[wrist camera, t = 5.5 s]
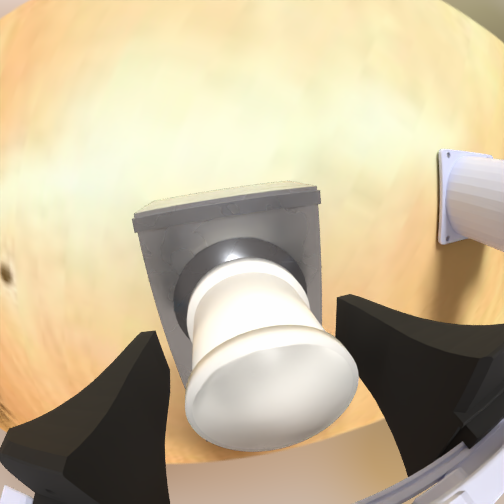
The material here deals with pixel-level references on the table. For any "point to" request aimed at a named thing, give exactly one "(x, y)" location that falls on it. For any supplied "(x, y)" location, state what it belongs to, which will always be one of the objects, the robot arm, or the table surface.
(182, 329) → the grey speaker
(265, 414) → the white cabinet knob
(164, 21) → the table surface
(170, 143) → the table surface
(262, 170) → the table surface
